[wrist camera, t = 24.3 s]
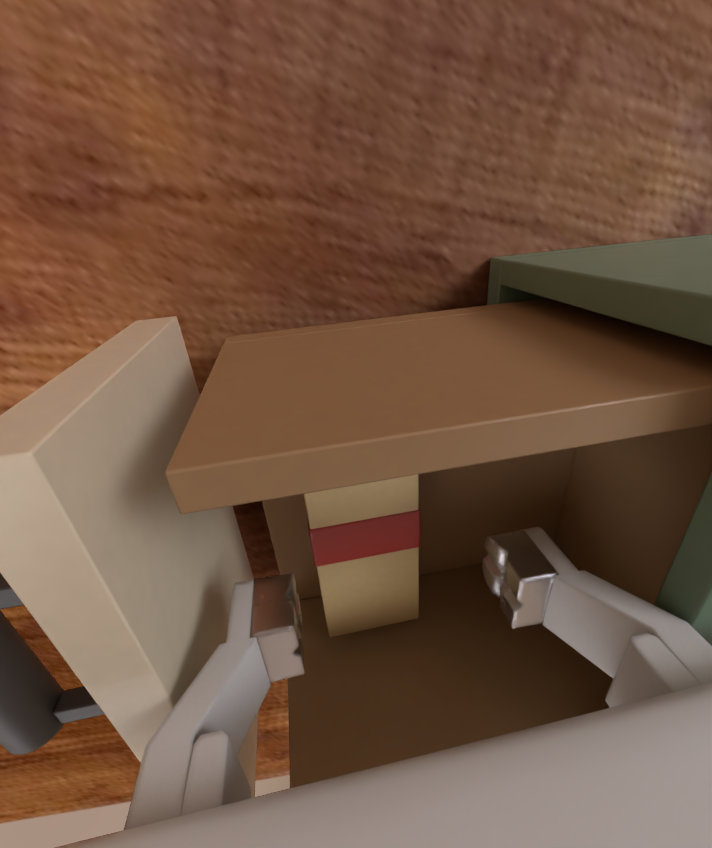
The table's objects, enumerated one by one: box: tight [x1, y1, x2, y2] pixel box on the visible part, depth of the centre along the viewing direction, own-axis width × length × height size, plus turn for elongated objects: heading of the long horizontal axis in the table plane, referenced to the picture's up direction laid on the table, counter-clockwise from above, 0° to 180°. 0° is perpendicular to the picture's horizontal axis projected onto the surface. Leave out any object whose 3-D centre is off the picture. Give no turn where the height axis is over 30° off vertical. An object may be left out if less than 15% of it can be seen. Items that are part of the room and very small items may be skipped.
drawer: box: [0, 298, 712, 798], centre depth 12 cm, size 20×13×8 cm, turn 95°
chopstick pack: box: [303, 474, 420, 637], centre depth 13 cm, size 9×4×2 cm, turn 5°
